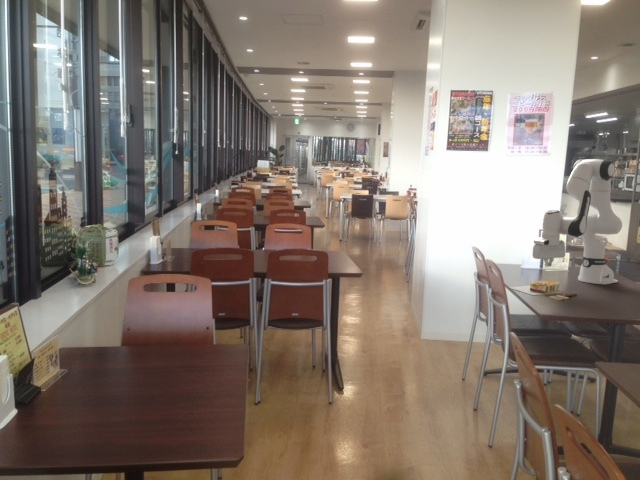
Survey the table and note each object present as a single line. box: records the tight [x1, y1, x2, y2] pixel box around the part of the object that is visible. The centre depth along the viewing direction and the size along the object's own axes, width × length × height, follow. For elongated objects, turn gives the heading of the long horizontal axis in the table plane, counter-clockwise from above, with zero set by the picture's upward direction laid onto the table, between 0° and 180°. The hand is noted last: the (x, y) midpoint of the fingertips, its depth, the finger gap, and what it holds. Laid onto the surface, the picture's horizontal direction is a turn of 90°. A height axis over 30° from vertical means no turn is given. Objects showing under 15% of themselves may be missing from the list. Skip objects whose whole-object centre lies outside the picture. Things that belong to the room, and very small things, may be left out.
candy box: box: [529, 279, 561, 295], centre depth 311 cm, size 9×4×15 cm
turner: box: [548, 291, 578, 301], centre depth 299 cm, size 18×6×1 cm, turn 124°
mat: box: [508, 285, 563, 296], centre depth 312 cm, size 20×18×1 cm
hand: (548, 266), depth 314 cm, fingers closed
